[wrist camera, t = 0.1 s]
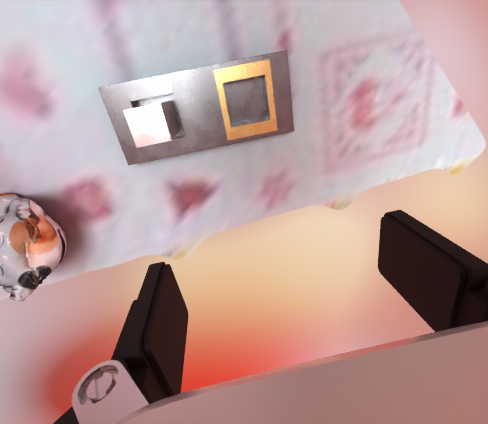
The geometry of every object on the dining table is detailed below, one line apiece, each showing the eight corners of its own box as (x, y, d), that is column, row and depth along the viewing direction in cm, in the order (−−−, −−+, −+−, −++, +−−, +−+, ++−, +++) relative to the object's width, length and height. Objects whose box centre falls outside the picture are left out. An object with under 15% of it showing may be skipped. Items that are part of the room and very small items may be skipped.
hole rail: (106, 87, 34) (97, 87, 31) (281, 53, 35) (287, 50, 32) (134, 159, 39) (128, 165, 36) (288, 128, 39) (294, 131, 36)
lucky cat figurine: (-27, 179, 37) (-64, 196, 26) (72, 193, 44) (75, 211, 33) (-39, 275, 39) (-79, 330, 28) (58, 274, 46) (57, 317, 35)
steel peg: (143, 105, 35) (123, 110, 27) (171, 100, 35) (160, 102, 27) (152, 135, 37) (136, 147, 29) (180, 129, 37) (171, 140, 29)
